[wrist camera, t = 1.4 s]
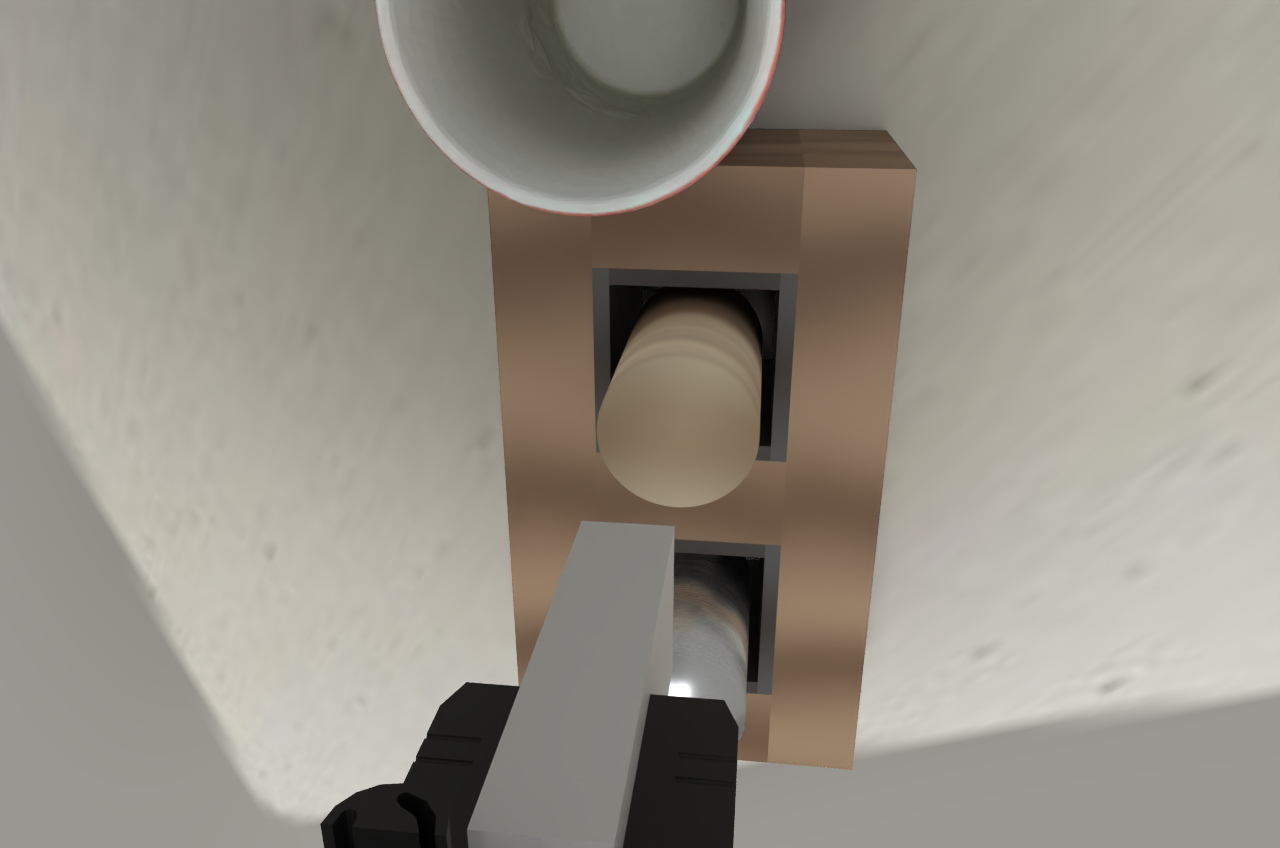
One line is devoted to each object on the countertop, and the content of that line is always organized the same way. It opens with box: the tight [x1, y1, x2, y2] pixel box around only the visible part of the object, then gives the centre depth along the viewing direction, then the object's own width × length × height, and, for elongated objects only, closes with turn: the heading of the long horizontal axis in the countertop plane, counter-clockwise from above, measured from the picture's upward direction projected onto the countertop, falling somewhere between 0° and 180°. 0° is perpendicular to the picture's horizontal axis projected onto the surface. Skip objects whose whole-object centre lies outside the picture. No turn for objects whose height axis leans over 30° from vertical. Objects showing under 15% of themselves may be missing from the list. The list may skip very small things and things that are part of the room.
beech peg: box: [597, 287, 763, 507], centre depth 29 cm, size 4×4×8 cm
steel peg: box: [668, 552, 751, 742], centre depth 33 cm, size 4×4×8 cm
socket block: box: [488, 129, 917, 770], centre depth 36 cm, size 21×12×8 cm, turn 0°
